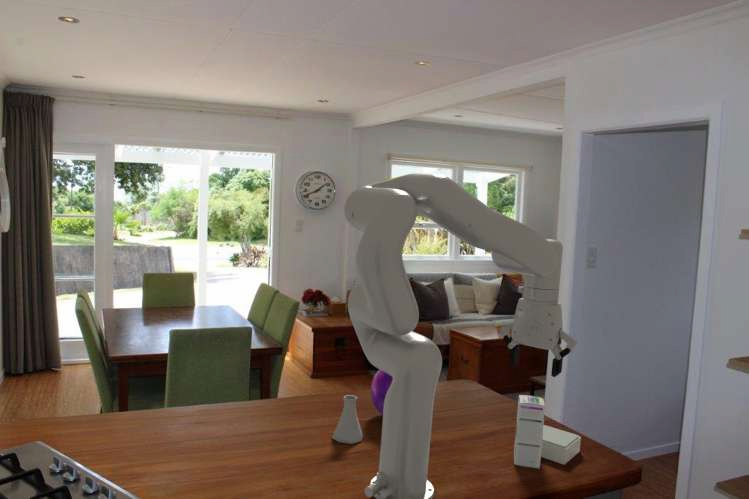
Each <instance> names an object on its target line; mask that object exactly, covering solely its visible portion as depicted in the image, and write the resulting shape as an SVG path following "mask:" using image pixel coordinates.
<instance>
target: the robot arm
mask: <svg viewBox="0 0 749 499" xmlns="http://www.w3.org/2000/svg"><path fill="white" fill-rule="evenodd" d="M343 211H344V212H343V213H344V216H345V219H346V220H347V222H348V224H349V225H350V226H351V227H353V228H354V229H356V230H358V231H360V232H363V233H362V236H361V238H360V241H359V243H358V246H357V249H356V254H355V267H356V272H357V275H358V278H359V281H357V282H355V284H354V285H353V286H352V288H351V290H350V292H349V294H348V298H347V309H348V314H349V318H350V321H351V322H352V326H353V328H354V331H355V333H356V336H357V339H358V341H359V344H360V346H361V348H362V351H363V353H364V355H365V357H366V359H367V361H368V362H369V363H370V365H372V366H373V367H375V368H376V369H378V370H382V371H384V372H385V373H387V374H389V375H390V376H392V377H393V380H392V383H391V386H390V388H389V389H388V391H387V394H386V396H385V400H384V408H383V415H382V425H381V426H382V427H381V439H380V450H379V452H380V453H379V462H378V464H379V465H378V472H377V473H376V476H373V478H372V479H371V480H370V482H369V485H368V486H366V487H365V488H364V493H365V496H366V497H367V498H372V497H373V498H374V499H434V495H435V488H434V486H433V484H432V483H431V482H430V481H429V480H428V471H429V459H430V448H431V447H430V446H431V436H432V426H433V425H432V424H433V413H434V412H433V411H434V402H435V394H436V388H437V385H438V381H439V378H440V374H441V372H442V366H443V358H442V357H443V355H442V353H441V351H440V349H439V346H438V345H437V344H436V343H435V342H434V341H433V340H431V339H430V338H428V337H427V336H425V335H423V334H420V333H418V332H415V331H414V330H415V329H416V327H417V325H418V323H419V318H420V311H419V305H418V302H417V300H416V297H415V294H414V291H413V288H412V285H411V283H410V280H409V277H408V274H407V271H406V268H405V265H404V264H405V263H404V259H403V252H404V251H403V250H404V246H405V243H406V240H407V238H408V237H409V234H410V232H412V231H411V230H413V227H414V225H415V223H416V220H417V217H421V218H422V217H423V218H426V219H429V220H431V221H432V222H434V223H435V224H437V225H438V226H440V227H441V228H443V229H444V230H445V231H446V232H448V233H450V234H452V235H453V236H454V237H455V238H457V239H459V240H460V241H461V242H463V243H465V244H467V245H469V246H472V247H474V248H476V249H480V250H483V251H487V252H490V253H491V259H492V261H493V263H494V265H495V266H496V267H497V268H498V269H500V270H502V271H505V272H507V273H508V272H509V273H514V274H517V275H524V284H523V285H522V286H521V285H520V286H518V288H517V292H518V293H520V294H522V295H521V296H522V297H521V298H519V299H518V302H517V304H516V308H515V313H514V318H513V322H512V323H508V324H506V325H504V326H503V325H502V326H501V327H500V332H501V335H502V336H503V340H504V343H506V345H507V348H508V349H509V356H508V361H509V366H510V367H511V368H513V367H516V366H518V365H519V361H520V347H519V345H523V346H527V347H528V346H529V347H532V348H533V347H534V348H537V349H542V350H546V351H547V350H548V351H551V353H552V354H553V356H554V358H553V359H552V362H551V364H552V366H551V375H550V376H551V377H552V378H556V377H557V376H559V375H560V374H561V373H562V371H563V360H564V358H565V357H567V356H568V355H569V354H570V353H572V351H573V350H574V348H575V347H576V345H577V344H578V342H577V340H576V339H575V338H574V337H572V336H571V335H569V334H568V333H567V332H566V331H564V330H563V311H562V303H561V302H559V297H560V296H559V294H560V285H561V276H562V275H561V273H562V263H563V262H562V261H563V252H564V251H563V250H564V247H563V243H562V242H561V241H560V240H557V239H551V238H545V237H544V236H542V235H541V234H540V233H539V232H537V230H534V229H533V228H532V227H529V226H527V225H526V224H524V223H522V222H519V221H518V220H515V219H514V218H511V217H509V216H508V215H505V214H504V213H502V212H500V211H497V210H495V209H493V208H491V207H490V206H487V205H486V204H485V203H484V202H483V201H481V200H479V198H477V197H476V196H475V195H473V194H472V193H470V192H469V191H468V190H467V189H466V188H464V187H462V186H461V185H460V184H458V183H457V182H455V181H454V180H453V179H451V178H450V177H448V176H446V175H443V174H440V173H419V172H418V173H415V172H413V173H408V174H404V175H400V176H397V177H396V176H395V177H392V178H390V179H385V180H382V181H378V182H374V183H370V184H367V185H362V186H360V187H357V188H356V189H354V190H352V192H351V193H349V195H348V196H347V198H346V200H345V202H344V207H343ZM510 330H512V331H511V334H510ZM562 340H563V341H564V342H566V344H567V345H566V347H565V348H564V349H563V348H562V346H561V345H562Z"/></svg>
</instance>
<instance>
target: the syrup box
mask: <svg viewBox="0 0 749 499" xmlns="http://www.w3.org/2000/svg"><path fill="white" fill-rule="evenodd" d="M544 399H545V398H544V397H541V396H536V395H535V396H534V395H527V394H519V395H518V400H517V401H518V402H517V413H516V422H515V423H516V424H515V437H514V449H513V464H514V465H515V466H519V467H526V468H533V469H540V468H541V460H542V459H541V458H542V457H541V450H542V438H543V425H545V411H546V406H545V400H544Z"/></svg>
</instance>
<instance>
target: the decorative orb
mask: <svg viewBox="0 0 749 499" xmlns="http://www.w3.org/2000/svg"><path fill="white" fill-rule="evenodd" d="M392 380H393V377H392V376H390V375H389V374H387V373H385V372H384V371H382V370H380V369H378V370H377V372H376V374H375V375H374V376H373V378H372V380H371V385H370V397H371V400H372V404H373V405H374V407H375V409H376V410H377V411H378V413H380V414H381V415H382V416H383V408H384V400H385V396H386V394H387V391H388V389H389V388H390V386H391V383H392Z"/></svg>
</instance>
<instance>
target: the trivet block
mask: <svg viewBox="0 0 749 499" xmlns="http://www.w3.org/2000/svg"><path fill="white" fill-rule="evenodd" d="M581 440H582V436H580V435H578V434H575V433H572V432H570V431H569V432H568V431H565V430H562V429H559V428H556V427H552V426H549V425H545V424H544V425H543V438H542V450H541V458H543V459H546V460H550V461H553V462H555V463H558V464H561V465H563V466H564V465H566V464H568V462H570V460H572V459H573V458H574V457H575V456H576V455H578V454H579V452H580V451H581Z"/></svg>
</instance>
